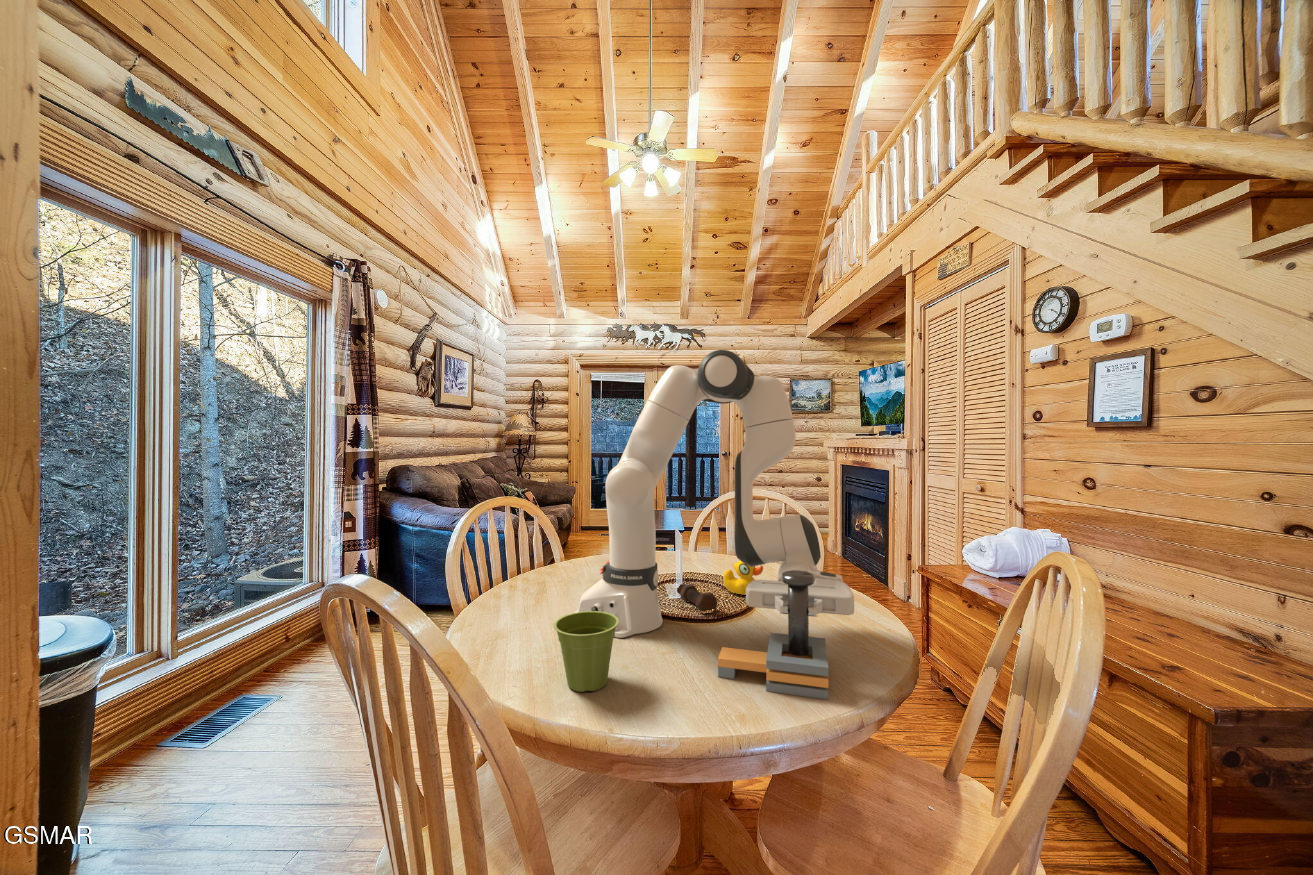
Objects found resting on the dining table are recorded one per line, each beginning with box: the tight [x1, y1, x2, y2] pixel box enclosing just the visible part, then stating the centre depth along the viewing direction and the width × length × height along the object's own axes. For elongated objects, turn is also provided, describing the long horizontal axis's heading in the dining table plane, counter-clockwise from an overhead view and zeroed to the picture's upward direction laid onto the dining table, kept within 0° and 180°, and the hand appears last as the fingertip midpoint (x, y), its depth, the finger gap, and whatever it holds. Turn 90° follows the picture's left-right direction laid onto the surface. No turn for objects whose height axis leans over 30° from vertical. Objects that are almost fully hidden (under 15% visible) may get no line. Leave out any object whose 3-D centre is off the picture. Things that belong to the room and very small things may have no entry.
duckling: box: [722, 560, 764, 595], centre depth 139 cm, size 11×5×10 cm, turn 61°
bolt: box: [676, 583, 719, 611], centre depth 132 cm, size 6×5×15 cm
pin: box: [782, 571, 814, 656], centre depth 92 cm, size 6×6×14 cm
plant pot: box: [553, 611, 619, 693], centre depth 92 cm, size 12×12×11 cm
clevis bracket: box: [717, 632, 829, 701], centre depth 94 cm, size 19×12×6 cm, turn 74°
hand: (798, 611), depth 91 cm, fingers closed on pin, 4 cm apart
